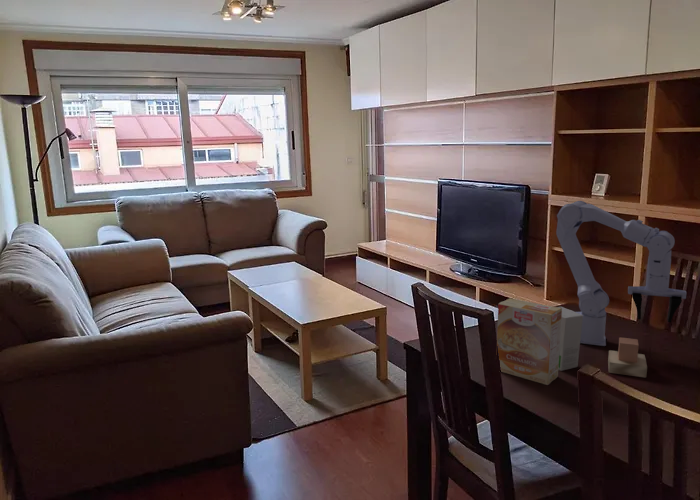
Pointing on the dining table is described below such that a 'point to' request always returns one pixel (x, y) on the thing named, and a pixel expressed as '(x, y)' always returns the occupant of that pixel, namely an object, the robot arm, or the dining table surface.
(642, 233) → the robot arm
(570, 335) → the skincare box
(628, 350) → the terracotta block
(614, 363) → the beech slab
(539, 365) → the coffeecake box
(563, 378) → the dining table surface
